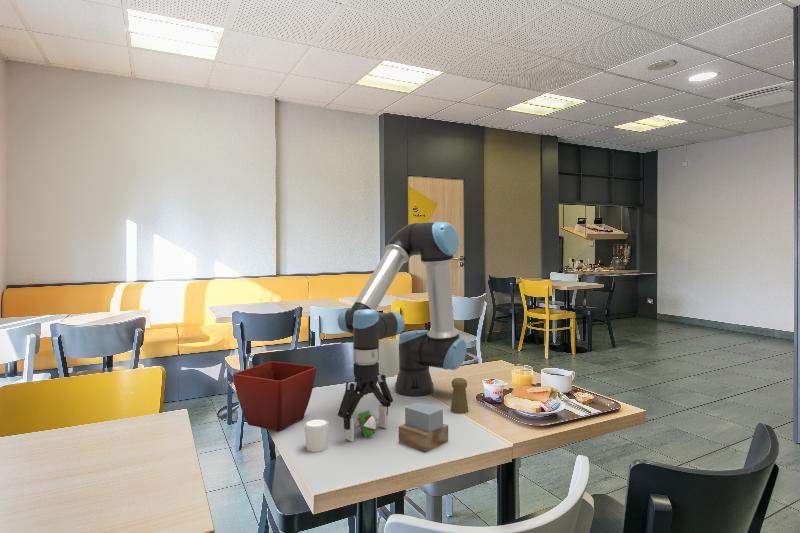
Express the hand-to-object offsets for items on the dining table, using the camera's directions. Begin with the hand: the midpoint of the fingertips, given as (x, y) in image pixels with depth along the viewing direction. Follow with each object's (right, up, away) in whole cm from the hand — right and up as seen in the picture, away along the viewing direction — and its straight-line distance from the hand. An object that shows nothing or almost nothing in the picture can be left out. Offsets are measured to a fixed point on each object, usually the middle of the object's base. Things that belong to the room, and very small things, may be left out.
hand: (366, 433), depth 143 cm
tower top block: (+17, +4, -6) cm, 18 cm away
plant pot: (-30, 0, +11) cm, 31 cm away
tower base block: (+17, -1, -6) cm, 18 cm away
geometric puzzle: (0, 0, 0) cm, 0 cm away
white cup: (-13, -1, -9) cm, 16 cm away
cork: (+30, +1, +20) cm, 36 cm away
